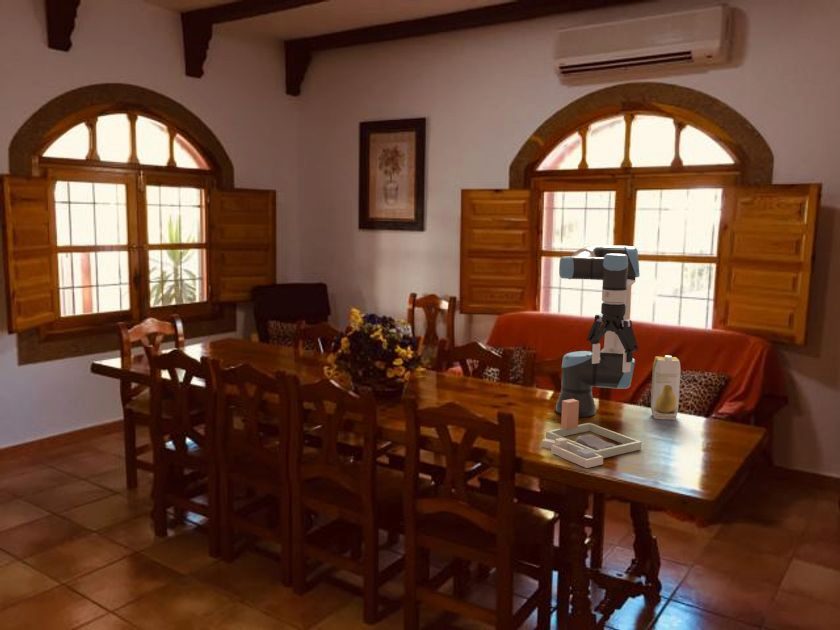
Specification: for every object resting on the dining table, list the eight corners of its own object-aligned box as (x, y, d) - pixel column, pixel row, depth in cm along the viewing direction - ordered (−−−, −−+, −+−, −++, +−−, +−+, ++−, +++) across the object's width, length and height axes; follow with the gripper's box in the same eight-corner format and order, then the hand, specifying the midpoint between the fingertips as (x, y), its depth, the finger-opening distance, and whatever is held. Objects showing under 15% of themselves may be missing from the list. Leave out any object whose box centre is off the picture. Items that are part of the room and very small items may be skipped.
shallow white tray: (544, 437, 247) (545, 403, 245) (587, 428, 257) (589, 396, 255) (596, 459, 226) (597, 422, 224) (641, 449, 236) (643, 413, 234)
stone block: (594, 448, 243) (572, 447, 238) (597, 434, 243) (575, 433, 237) (619, 460, 233) (597, 459, 228) (623, 446, 232) (600, 445, 227)
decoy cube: (576, 462, 224) (576, 450, 223) (585, 460, 226) (586, 448, 226) (585, 466, 221) (585, 454, 220) (594, 464, 223) (595, 451, 222)
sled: (549, 451, 232) (550, 439, 232) (565, 448, 236) (566, 436, 235) (586, 468, 218) (586, 455, 218) (602, 464, 222) (603, 451, 221)
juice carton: (652, 419, 269) (656, 356, 266) (649, 413, 277) (652, 352, 273) (678, 420, 268) (682, 357, 264) (674, 414, 276) (678, 353, 272)
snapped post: (542, 447, 239) (542, 440, 238) (545, 445, 240) (545, 438, 240) (555, 450, 236) (555, 443, 235) (558, 448, 238) (558, 441, 237)
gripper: (577, 298, 239) (575, 361, 242) (635, 308, 217) (631, 377, 221) (594, 296, 242) (591, 358, 246) (652, 306, 221) (648, 374, 225)
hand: (610, 367), depth 233 cm, fingers open, 13 cm apart
